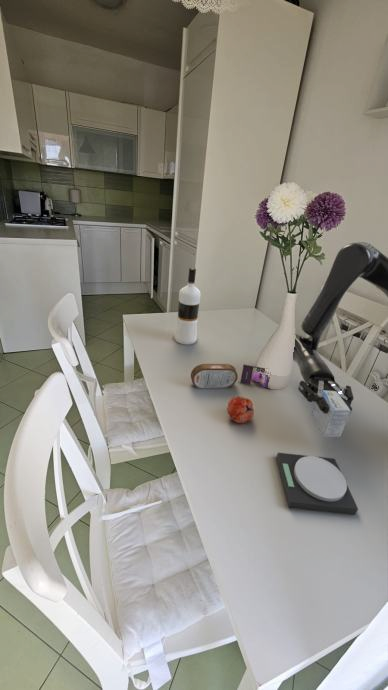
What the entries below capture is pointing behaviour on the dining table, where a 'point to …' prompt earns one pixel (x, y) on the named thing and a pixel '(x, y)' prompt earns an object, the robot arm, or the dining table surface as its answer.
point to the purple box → (253, 375)
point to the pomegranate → (240, 409)
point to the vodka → (188, 311)
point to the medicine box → (331, 415)
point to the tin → (214, 375)
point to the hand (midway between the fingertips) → (337, 411)
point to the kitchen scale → (314, 484)
